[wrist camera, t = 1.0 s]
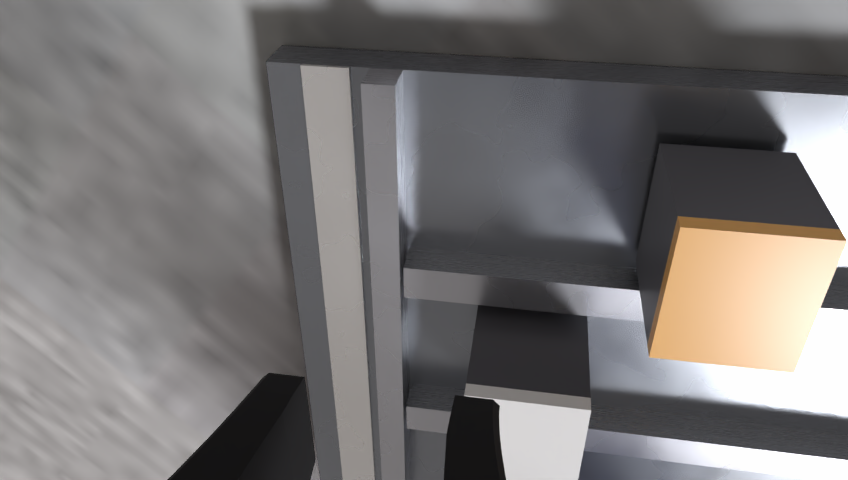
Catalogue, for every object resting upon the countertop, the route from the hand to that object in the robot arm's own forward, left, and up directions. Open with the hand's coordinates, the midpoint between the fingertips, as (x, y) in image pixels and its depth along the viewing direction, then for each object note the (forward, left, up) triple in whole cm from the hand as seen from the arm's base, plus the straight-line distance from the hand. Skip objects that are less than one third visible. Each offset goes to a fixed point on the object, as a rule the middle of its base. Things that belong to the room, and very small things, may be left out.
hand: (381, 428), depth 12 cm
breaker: (-5, -2, -8) cm, 10 cm away
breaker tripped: (0, -7, -8) cm, 10 cm away
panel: (-5, -6, -9) cm, 12 cm away
